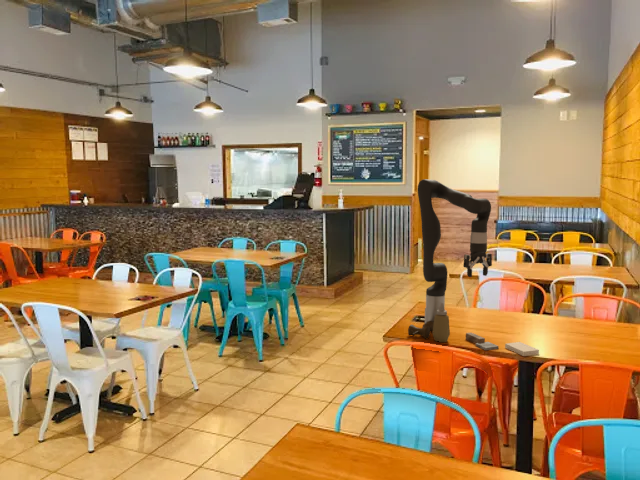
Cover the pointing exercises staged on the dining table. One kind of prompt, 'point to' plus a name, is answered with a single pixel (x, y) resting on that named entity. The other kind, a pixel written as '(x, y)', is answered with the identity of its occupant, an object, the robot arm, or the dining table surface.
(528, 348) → the ceramic tile
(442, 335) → the squeeze bottle
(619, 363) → the dining table surface
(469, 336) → the dark piece
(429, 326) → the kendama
